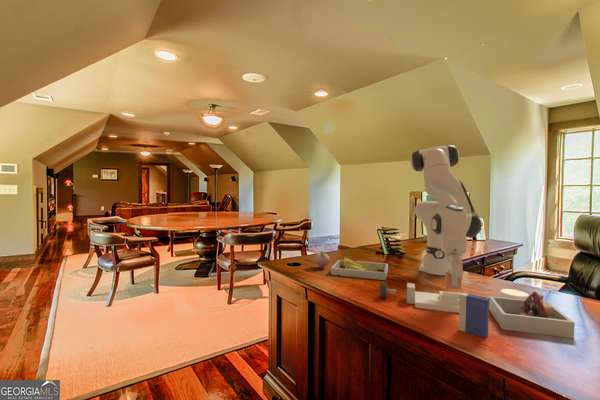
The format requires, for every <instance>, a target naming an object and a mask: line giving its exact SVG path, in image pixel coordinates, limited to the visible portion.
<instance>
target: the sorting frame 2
mask: <svg viewBox="0 0 600 400" xmlns="http://www.w3.org/2000/svg"><path fill="white" fill-rule="evenodd" d="M488 298H489V313H490V314H491V315H492V317H493V318H494V319H495V321H496V322H497V324H498V325H499V327H500V328H501V329H502V330H505V331H506V330H507V331H512V332H513V331H514V332H521V333H530V334H537V335H545V336H550V337H551V336H552V337H559V338H560V337H561V338H567V339H575V326H576V325H575V323H576V322H575V321H573V320H572V319H571V318H569V316H567V315H566V314H565V313H563V312H562V311H561V310H560V309H558V308H557V307H556V306H554V305H553V304H552V303H550V302H549V301H548V302H547V301H544V302H545V303H546V304H549V305H550V306H551V307H552V309H553V316H552V318H553V319H550V318H541V317H533V316H524V315H518V310H519V308H520V306H521V305H523V306H524V301H525V300H521V299H511V298H502V297H500V296H493V295H492V296H491V295H490V296H489V295H488ZM529 304H530V308H531V307H532V304H531V303H529ZM523 308H524V307H523ZM524 310H525V308H524ZM558 319H559V320H558Z"/></svg>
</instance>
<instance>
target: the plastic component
mask: <svg viewBox="0 0 600 400" xmlns="http://www.w3.org/2000/svg"><path fill="white" fill-rule="evenodd" d="M343 260H344V266H345V267H344V266H343V267H344V269H351V270H362V271H373V272H378V269H376V268H374V267H371V266H368V265H365V264H362V263H359V262H357V261H356V260H354V259H351V258H349V257H345V256H344V258H343Z"/></svg>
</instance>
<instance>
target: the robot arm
mask: <svg viewBox="0 0 600 400" xmlns="http://www.w3.org/2000/svg"><path fill="white" fill-rule="evenodd" d="M459 160H460V151H459V150H458V148H457V147H456V146H455V145H454V144H453V145H452V144H448V145H441V146H440V145H439V146H433V147H430V148H429V147H428V148H424V149H420V150H416V151H414V152H413V153H412V154H411V157H410V165H411V167H412V169H413V171H415V172H423V179H424V189H425V192H426V194H427V195H428V196H429V197H430V198H433V199H434V200H425V201H419V202H418V203H417V204H416V205H415V207H414V214H415V216H416V217H417V218H418V219H419V220H420V221H421V222H422V224H423V225H424V228H425V230H426V236H427V237H426V238H427V239H426V241H427V242H426V244H427V245H426V247H425V252H426V253H425V254H423V256H422V257H421V260H422V261H421V262H422V263H421V266H420V267H419V268H418V271H419V272H423V273H426V274H430V275H434V276H435V275H437V276H445V272H448V271H449V272H450V274H451V276H452V280H451V284H452V285H453V286H456V285H457V280H458V277H461V278H462V277H463V272H464V271H463V257H464V254H467V252H468V251H467V248H468V238H474V237H476V236H478V234H479V233H481V231H482V222H481V218H480V217H479V215H478V214H477V212H476V210H475V208H474V206H473V204H472V201H471V199H470V197H469V196H470V195H469V194H468V191H467V190H466V187H465V185H464V183H463V181H462V180H459V179H458V178H457V177H456V176H455V175H454V173H453V171H452V167H455V166H456V165H458V163H459Z"/></svg>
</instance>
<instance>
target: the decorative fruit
mask: <svg viewBox="0 0 600 400" xmlns="http://www.w3.org/2000/svg"><path fill="white" fill-rule="evenodd" d="M313 260H314V263H315V265H317V266H319V268H321V269H324V268H325V267H327V266H328V265H329V263H330V256H329V255H328V254H327V253H326V252H324V251H323V250H321V251H319V252H318V253H316V254H315V255H314V259H313Z"/></svg>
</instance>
